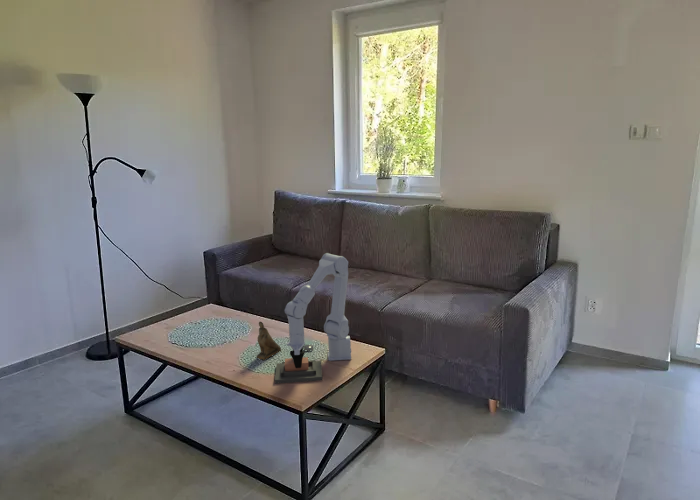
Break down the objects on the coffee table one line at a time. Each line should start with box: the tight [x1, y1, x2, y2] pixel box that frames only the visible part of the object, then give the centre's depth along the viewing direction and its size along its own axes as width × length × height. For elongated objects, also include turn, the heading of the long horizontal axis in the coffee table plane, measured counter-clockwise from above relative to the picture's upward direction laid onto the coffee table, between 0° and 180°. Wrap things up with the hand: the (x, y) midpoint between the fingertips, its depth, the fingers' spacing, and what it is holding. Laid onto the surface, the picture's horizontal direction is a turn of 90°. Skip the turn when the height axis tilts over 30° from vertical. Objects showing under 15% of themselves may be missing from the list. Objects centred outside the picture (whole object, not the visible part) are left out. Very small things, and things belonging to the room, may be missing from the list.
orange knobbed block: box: [284, 356, 309, 371], centre depth 195 cm, size 5×9×5 cm, turn 95°
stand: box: [274, 359, 323, 384], centre depth 196 cm, size 18×14×3 cm
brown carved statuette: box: [256, 321, 282, 361], centre depth 211 cm, size 12×6×18 cm, turn 144°
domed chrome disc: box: [303, 344, 314, 352], centre depth 217 cm, size 4×4×2 cm
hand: (298, 364), depth 195 cm, fingers open, 5 cm apart
